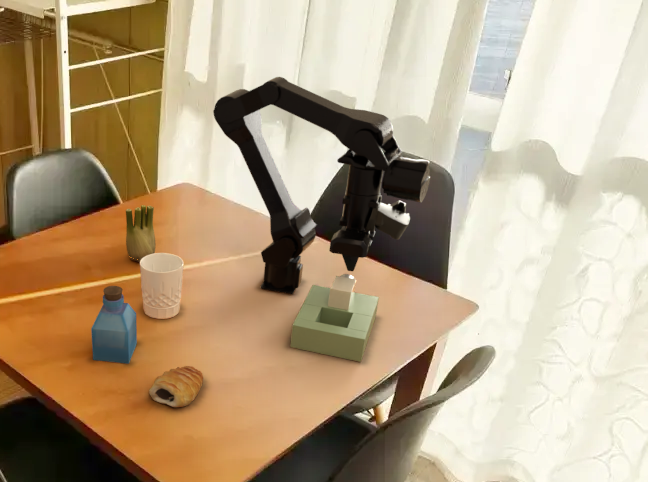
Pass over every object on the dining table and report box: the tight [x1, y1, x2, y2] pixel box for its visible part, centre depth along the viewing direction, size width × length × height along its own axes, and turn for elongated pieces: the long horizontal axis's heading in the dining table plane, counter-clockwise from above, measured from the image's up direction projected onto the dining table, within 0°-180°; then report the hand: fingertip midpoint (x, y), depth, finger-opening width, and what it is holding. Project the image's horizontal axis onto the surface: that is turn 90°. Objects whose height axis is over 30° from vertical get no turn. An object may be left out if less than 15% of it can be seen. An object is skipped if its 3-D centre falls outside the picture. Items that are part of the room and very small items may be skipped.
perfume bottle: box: [90, 285, 138, 365], centre depth 124 cm, size 6×6×12 cm
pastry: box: [148, 365, 204, 408], centre depth 117 cm, size 9×7×4 cm
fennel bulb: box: [125, 204, 157, 263], centre depth 154 cm, size 6×5×12 cm
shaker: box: [328, 273, 357, 310], centre depth 132 cm, size 7×4×4 cm, turn 157°
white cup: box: [139, 252, 185, 320], centre depth 137 cm, size 8×8×10 cm
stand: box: [289, 284, 380, 363], centre depth 131 cm, size 12×15×4 cm
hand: (350, 270), depth 138 cm, fingers closed
